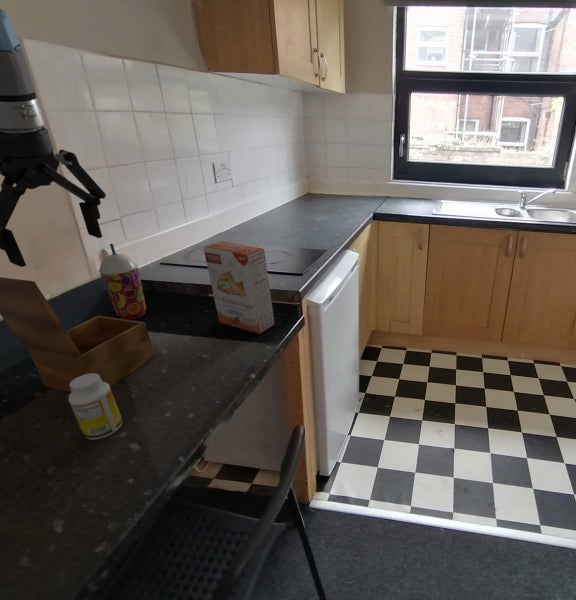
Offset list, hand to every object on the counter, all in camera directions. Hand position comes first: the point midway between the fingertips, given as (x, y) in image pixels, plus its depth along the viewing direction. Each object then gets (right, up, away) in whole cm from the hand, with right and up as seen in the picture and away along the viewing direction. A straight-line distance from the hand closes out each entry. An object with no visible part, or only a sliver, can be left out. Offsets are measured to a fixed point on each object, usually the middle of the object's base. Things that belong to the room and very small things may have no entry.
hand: (59, 248), depth 74 cm
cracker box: (+23, -16, +30) cm, 41 cm away
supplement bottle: (+12, -32, -5) cm, 34 cm away
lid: (-2, -12, -3) cm, 13 cm away
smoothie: (-10, -14, +35) cm, 39 cm away
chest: (0, -24, +11) cm, 27 cm away
